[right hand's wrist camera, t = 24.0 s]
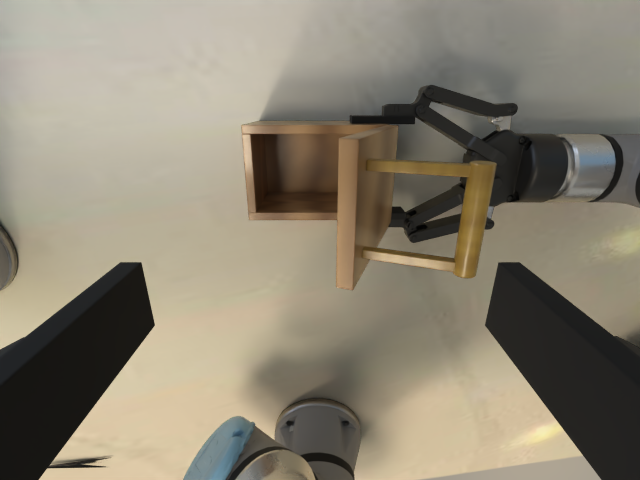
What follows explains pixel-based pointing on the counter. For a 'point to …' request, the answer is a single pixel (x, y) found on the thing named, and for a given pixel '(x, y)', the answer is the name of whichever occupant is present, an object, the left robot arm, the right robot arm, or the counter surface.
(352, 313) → the counter surface
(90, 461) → the feather
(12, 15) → the counter surface
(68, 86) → the counter surface
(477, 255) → the lid
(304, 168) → the chest
